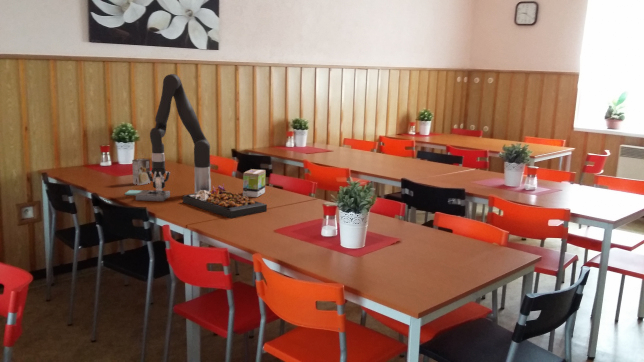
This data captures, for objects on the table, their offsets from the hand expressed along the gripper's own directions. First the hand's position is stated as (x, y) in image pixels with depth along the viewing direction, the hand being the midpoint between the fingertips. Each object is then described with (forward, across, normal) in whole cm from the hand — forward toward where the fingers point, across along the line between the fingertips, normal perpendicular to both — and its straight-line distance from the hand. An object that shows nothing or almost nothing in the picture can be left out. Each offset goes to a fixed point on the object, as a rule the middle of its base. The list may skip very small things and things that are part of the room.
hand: (159, 187), depth 347 cm
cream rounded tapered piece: (+3, 0, 0) cm, 3 cm away
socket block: (+4, 0, +12) cm, 13 cm away
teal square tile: (+3, +14, +2) cm, 15 cm away
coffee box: (+4, +19, -27) cm, 33 cm away
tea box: (+4, -57, -7) cm, 57 cm away
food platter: (+5, -44, +27) cm, 52 cm away
